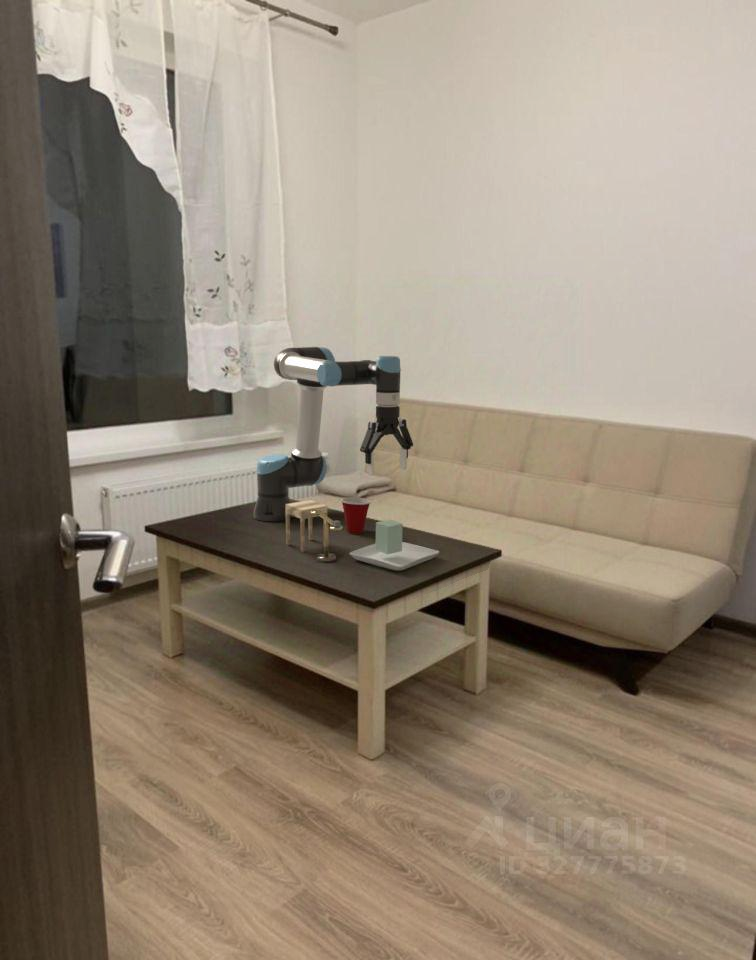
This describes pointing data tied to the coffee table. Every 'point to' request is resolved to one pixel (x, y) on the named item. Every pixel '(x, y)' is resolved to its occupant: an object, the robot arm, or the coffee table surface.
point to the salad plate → (395, 556)
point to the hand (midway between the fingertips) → (386, 471)
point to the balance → (336, 527)
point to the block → (389, 536)
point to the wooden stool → (304, 512)
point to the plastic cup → (355, 513)
